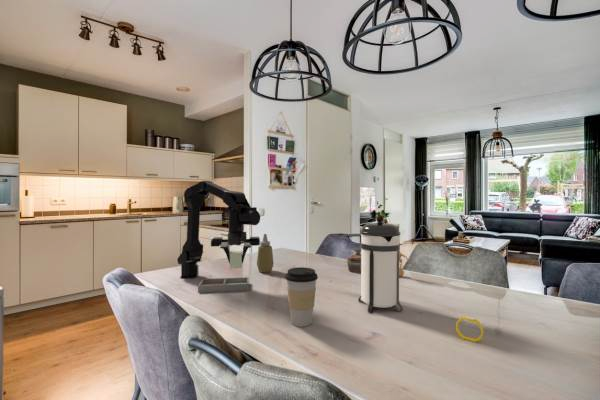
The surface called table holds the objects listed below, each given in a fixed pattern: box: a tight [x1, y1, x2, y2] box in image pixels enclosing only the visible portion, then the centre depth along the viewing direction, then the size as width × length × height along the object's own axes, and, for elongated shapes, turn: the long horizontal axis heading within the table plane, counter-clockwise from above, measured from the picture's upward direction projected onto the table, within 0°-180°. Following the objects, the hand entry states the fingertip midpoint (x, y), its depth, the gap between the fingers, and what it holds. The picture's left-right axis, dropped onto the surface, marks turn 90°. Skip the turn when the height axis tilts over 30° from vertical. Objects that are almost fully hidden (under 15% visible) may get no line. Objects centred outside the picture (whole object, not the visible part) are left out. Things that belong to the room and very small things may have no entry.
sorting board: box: [197, 276, 250, 294], centre depth 119 cm, size 18×10×2 cm, turn 98°
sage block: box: [229, 250, 243, 269], centre depth 120 cm, size 4×4×6 cm
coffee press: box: [358, 215, 403, 314], centre depth 100 cm, size 17×16×30 cm
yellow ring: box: [455, 314, 484, 343], centre depth 77 cm, size 6×3×6 cm, turn 53°
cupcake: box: [346, 249, 361, 274], centre depth 145 cm, size 10×10×10 cm
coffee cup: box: [284, 267, 319, 328], centre depth 87 cm, size 9×9×15 cm
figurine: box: [399, 250, 410, 278], centre depth 134 cm, size 8×6×12 cm
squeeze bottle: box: [256, 233, 274, 274], centre depth 144 cm, size 8×8×18 cm
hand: (236, 263), depth 120 cm, fingers closed on sage block, 4 cm apart
